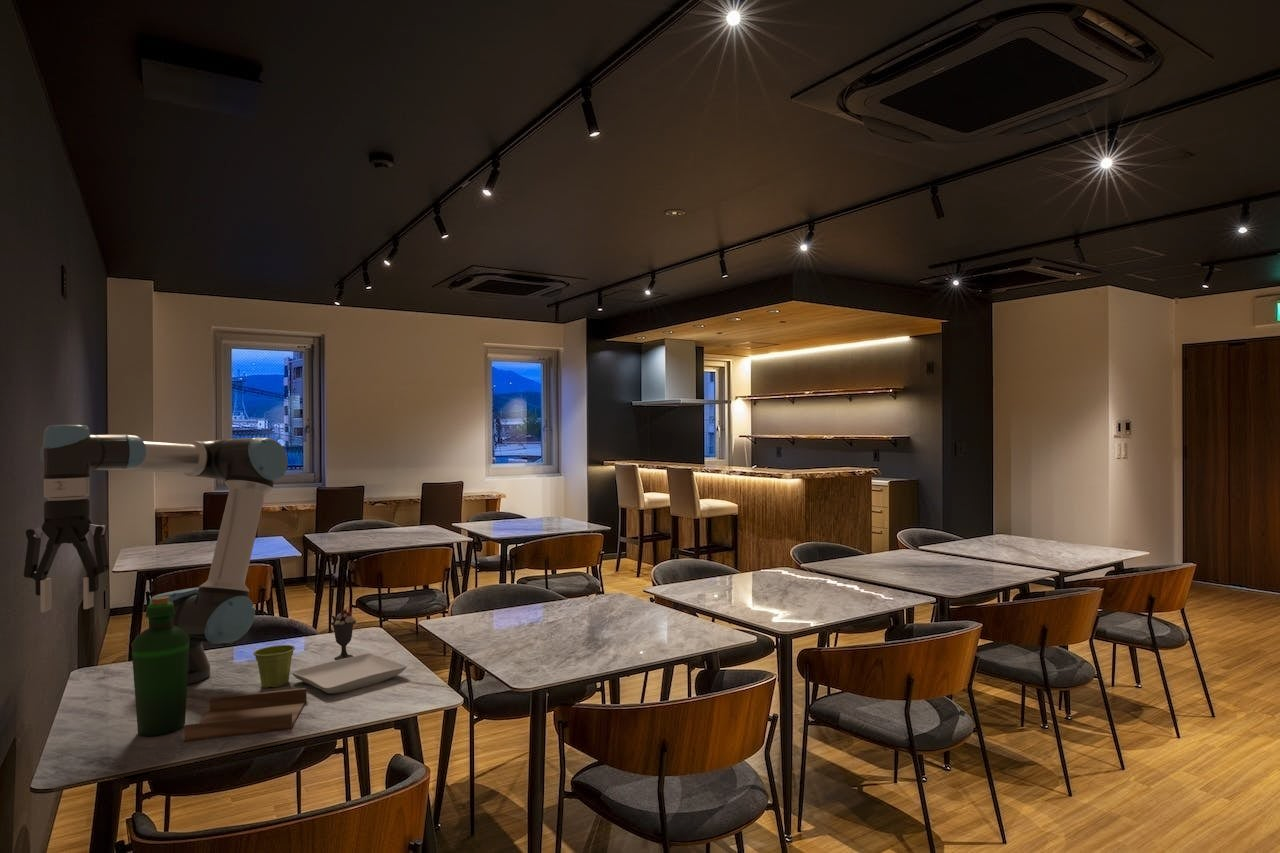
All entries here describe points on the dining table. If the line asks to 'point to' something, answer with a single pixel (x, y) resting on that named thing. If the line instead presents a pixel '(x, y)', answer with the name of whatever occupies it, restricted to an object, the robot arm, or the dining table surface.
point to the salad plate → (349, 673)
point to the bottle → (160, 671)
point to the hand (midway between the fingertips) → (67, 609)
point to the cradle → (248, 714)
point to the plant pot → (274, 664)
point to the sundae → (343, 631)
